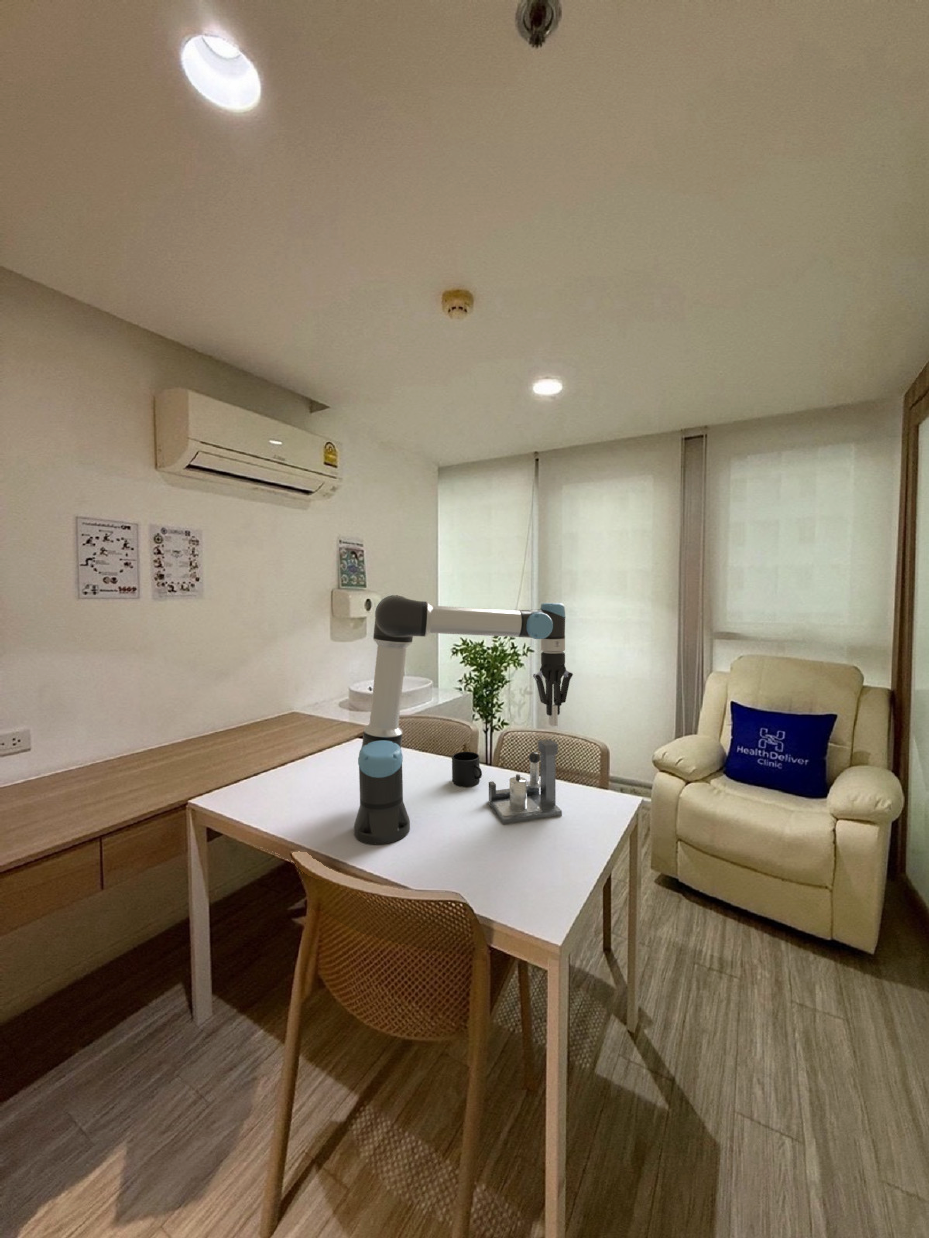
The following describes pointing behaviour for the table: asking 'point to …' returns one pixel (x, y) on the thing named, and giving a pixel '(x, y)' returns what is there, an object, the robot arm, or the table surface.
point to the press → (531, 792)
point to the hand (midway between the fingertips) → (553, 724)
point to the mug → (466, 769)
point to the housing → (518, 793)
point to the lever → (534, 770)
